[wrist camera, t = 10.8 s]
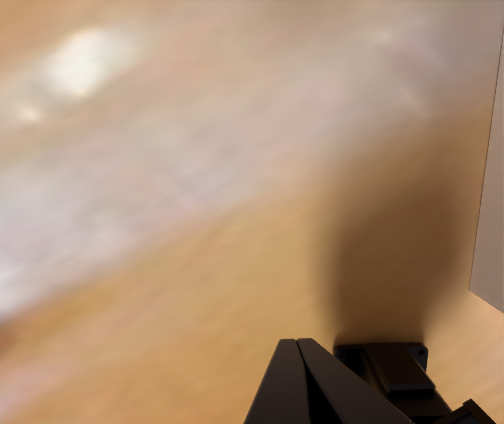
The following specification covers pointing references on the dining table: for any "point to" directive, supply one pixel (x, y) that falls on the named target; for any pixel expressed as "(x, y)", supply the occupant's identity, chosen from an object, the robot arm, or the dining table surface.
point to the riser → (492, 211)
